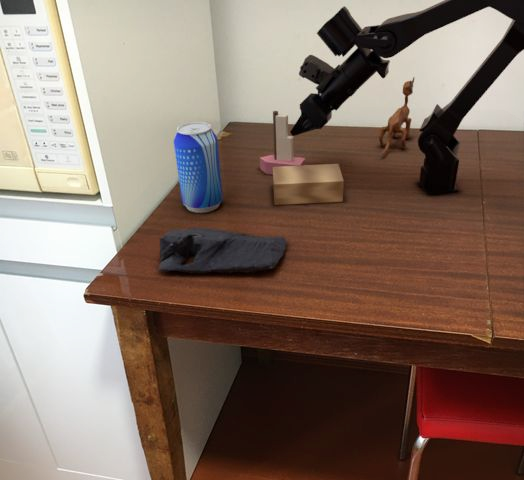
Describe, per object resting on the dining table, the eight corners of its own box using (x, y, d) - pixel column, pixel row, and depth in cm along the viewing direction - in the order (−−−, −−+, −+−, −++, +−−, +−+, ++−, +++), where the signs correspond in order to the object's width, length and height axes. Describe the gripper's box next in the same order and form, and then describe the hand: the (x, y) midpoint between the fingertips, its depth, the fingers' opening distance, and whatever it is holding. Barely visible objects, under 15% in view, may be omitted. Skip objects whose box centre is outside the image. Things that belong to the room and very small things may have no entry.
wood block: (337, 183, 129) (338, 163, 126) (342, 201, 122) (343, 180, 119) (273, 186, 129) (272, 166, 126) (274, 205, 122) (273, 184, 119)
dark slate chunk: (275, 284, 99) (274, 260, 96) (150, 274, 103) (146, 250, 100) (291, 240, 110) (291, 216, 107) (179, 232, 115) (176, 209, 112)
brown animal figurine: (395, 161, 137) (401, 99, 128) (368, 157, 140) (372, 96, 131) (417, 135, 149) (424, 77, 141) (391, 132, 152) (397, 75, 143)
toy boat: (305, 170, 136) (305, 110, 127) (299, 177, 132) (299, 117, 124) (263, 165, 139) (261, 107, 130) (257, 173, 135) (254, 113, 127)
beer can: (174, 207, 124) (162, 129, 114) (204, 193, 128) (195, 117, 118) (201, 218, 119) (192, 138, 109) (231, 203, 124) (225, 125, 114)
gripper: (336, 31, 122) (286, 84, 133) (310, 53, 109) (257, 111, 119) (371, 74, 125) (320, 123, 135) (350, 101, 112) (294, 153, 122)
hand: (298, 126), depth 128 cm, fingers open, 9 cm apart
